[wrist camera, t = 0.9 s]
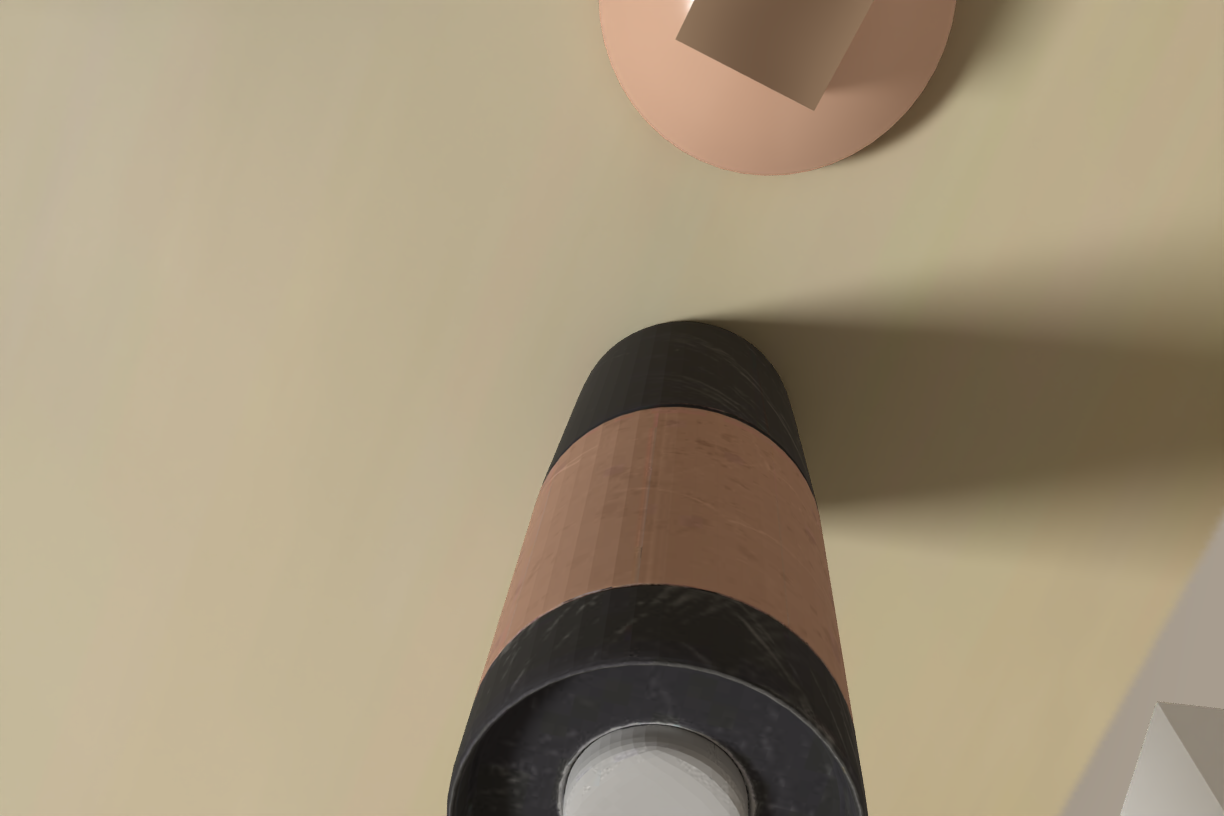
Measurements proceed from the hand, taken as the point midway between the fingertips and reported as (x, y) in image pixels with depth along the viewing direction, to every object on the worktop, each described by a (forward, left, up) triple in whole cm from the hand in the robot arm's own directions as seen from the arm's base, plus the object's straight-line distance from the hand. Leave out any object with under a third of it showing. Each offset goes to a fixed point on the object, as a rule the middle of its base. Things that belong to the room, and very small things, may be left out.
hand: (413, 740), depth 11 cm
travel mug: (+7, -4, -28) cm, 29 cm away
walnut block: (-1, +7, -26) cm, 27 cm away
